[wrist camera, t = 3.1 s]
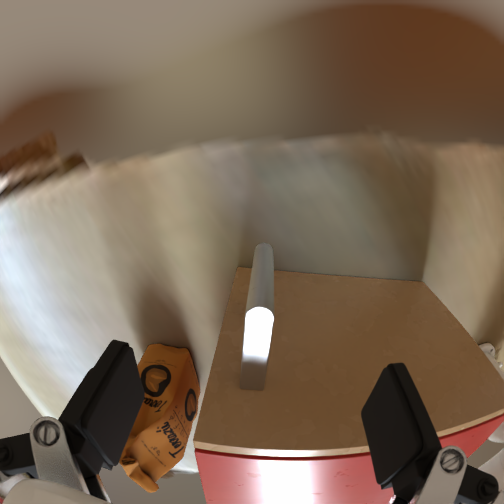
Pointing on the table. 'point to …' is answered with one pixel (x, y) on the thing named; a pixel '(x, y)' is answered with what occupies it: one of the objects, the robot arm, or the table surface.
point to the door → (333, 362)
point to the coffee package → (161, 415)
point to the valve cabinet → (309, 474)
